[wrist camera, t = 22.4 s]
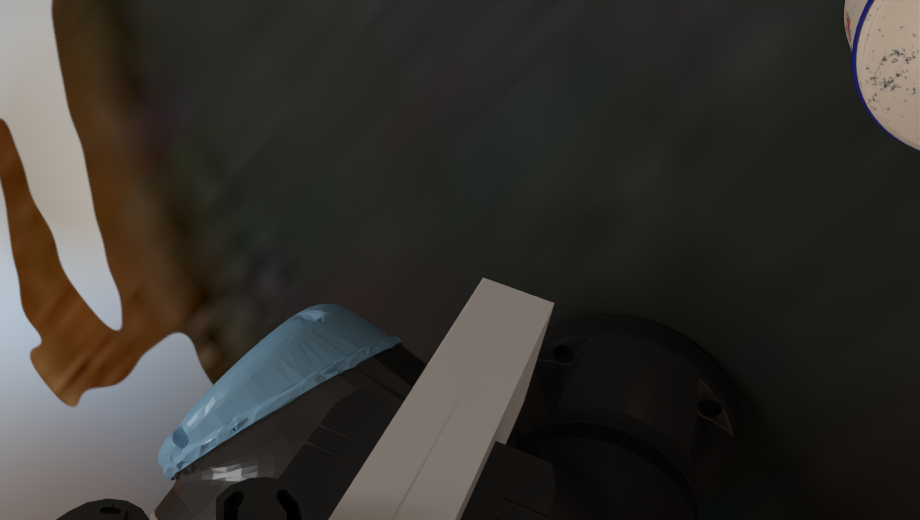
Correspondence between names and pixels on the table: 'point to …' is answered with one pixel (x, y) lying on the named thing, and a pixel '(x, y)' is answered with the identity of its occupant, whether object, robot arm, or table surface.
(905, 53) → the teacup with lid
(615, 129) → the table surface
